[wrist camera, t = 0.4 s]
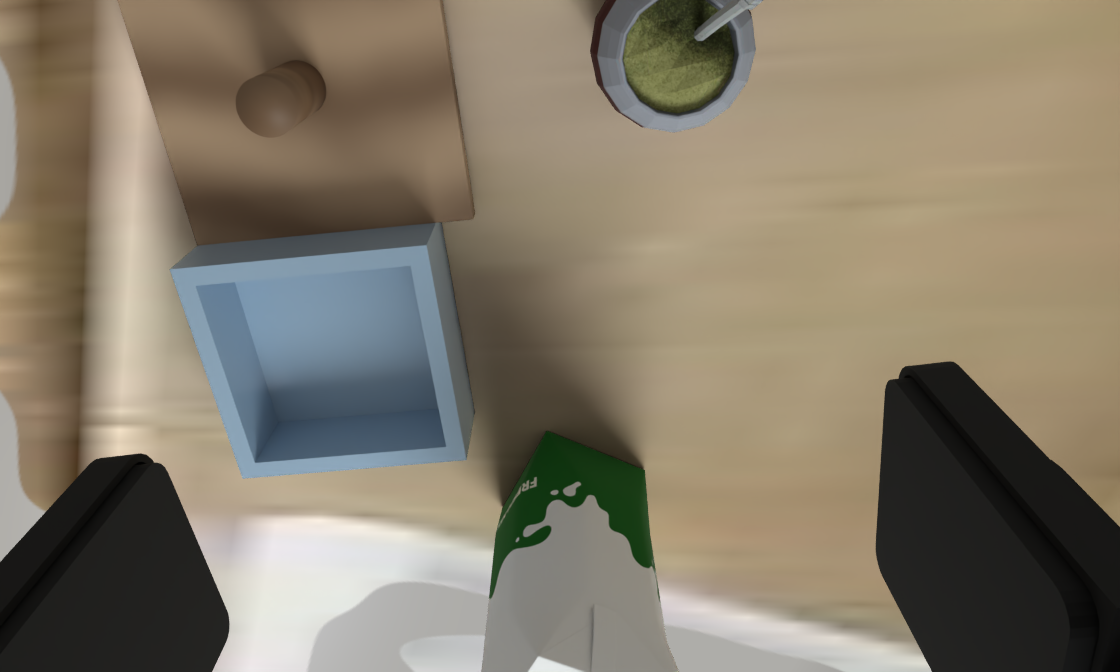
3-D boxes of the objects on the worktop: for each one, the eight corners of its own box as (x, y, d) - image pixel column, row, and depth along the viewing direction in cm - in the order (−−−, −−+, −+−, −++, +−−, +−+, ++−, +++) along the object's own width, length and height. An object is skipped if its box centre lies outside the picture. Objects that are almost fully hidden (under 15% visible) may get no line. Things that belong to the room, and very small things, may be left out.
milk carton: (602, 556, 54) (623, 859, 37) (482, 511, 53) (443, 806, 35) (664, 463, 51) (722, 748, 33) (538, 412, 49) (527, 683, 31)
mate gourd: (604, 121, 41) (626, 210, 28) (569, -42, 37) (576, -30, 24) (746, 86, 40) (840, 161, 27) (724, -83, 37) (821, -95, 23)
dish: (209, 235, 44) (169, 269, 39) (439, 213, 43) (426, 245, 39) (270, 429, 49) (242, 478, 45) (474, 412, 49) (466, 460, 44)
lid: (107, -66, 36) (29, -67, 31) (426, -102, 36) (403, -109, 30) (204, 239, 43) (155, 281, 38) (475, 213, 42) (463, 252, 37)
